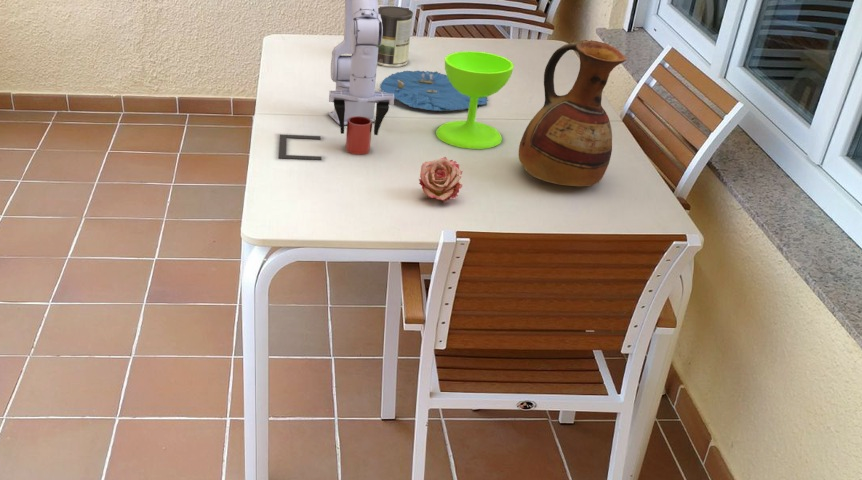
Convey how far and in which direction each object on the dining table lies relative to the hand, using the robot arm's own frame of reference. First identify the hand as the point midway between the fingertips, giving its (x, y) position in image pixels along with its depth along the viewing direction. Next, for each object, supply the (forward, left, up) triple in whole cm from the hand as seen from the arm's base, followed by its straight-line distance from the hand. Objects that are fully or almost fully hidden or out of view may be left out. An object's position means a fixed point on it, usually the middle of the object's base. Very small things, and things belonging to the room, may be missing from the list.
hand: (358, 132), depth 221 cm
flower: (-6, +28, -4) cm, 29 cm away
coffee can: (-36, -57, -4) cm, 67 cm away
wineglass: (-30, -1, -4) cm, 30 cm away
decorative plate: (-35, -30, -4) cm, 46 cm away
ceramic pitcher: (-38, +26, -4) cm, 46 cm away
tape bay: (+12, -5, -4) cm, 14 cm away
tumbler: (0, 0, -4) cm, 4 cm away
